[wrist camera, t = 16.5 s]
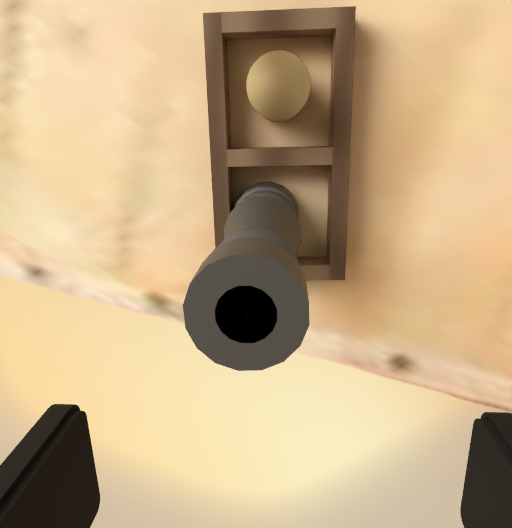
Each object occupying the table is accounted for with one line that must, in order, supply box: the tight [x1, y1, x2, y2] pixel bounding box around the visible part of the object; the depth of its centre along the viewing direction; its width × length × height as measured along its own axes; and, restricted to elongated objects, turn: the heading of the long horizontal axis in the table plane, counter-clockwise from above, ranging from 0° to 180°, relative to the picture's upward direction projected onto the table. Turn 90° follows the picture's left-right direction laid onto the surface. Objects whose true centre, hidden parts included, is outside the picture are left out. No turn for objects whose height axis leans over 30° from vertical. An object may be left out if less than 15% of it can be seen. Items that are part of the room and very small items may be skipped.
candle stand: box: [203, 7, 356, 280], centre depth 37 cm, size 12×23×8 cm, turn 1°
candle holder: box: [183, 182, 309, 371], centre depth 31 cm, size 6×6×25 cm
